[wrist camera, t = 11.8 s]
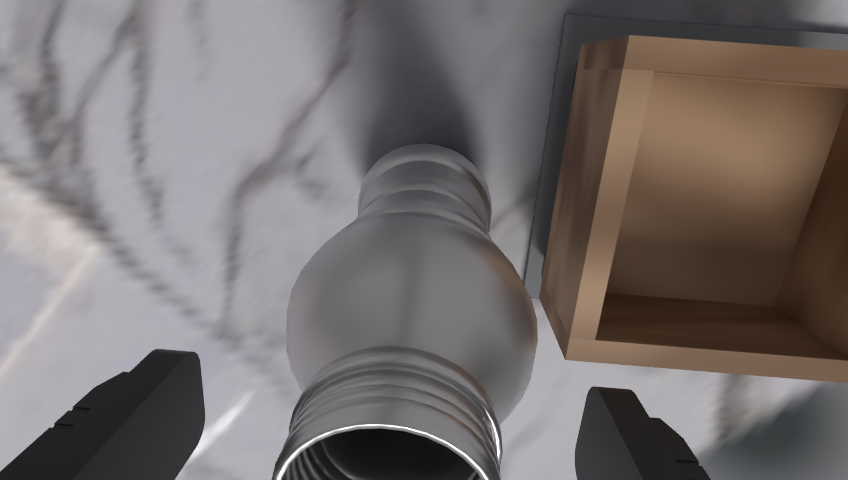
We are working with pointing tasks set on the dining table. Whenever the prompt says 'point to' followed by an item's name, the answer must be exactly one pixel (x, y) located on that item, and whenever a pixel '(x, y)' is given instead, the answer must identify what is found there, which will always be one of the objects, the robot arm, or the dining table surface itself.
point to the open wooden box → (703, 209)
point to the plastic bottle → (408, 332)
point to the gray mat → (573, 36)
